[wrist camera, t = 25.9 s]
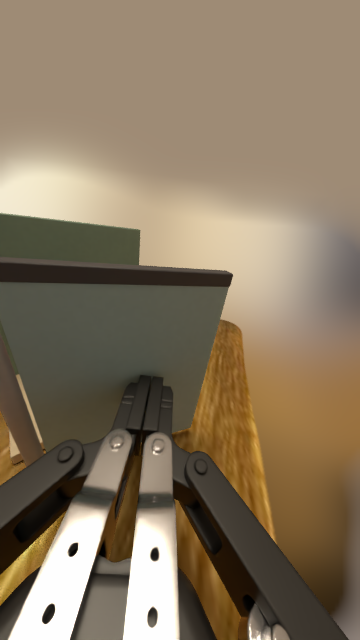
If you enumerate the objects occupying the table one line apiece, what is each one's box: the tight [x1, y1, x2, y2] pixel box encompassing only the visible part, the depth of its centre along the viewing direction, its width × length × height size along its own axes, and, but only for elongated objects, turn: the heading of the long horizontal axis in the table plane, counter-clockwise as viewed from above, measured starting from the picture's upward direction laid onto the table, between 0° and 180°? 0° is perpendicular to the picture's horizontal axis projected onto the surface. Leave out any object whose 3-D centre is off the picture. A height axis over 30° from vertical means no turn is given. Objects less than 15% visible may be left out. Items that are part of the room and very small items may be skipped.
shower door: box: [0, 257, 233, 453], centre depth 12 cm, size 11×1×15 cm, turn 112°
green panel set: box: [0, 213, 140, 467], centre depth 17 cm, size 15×12×16 cm
